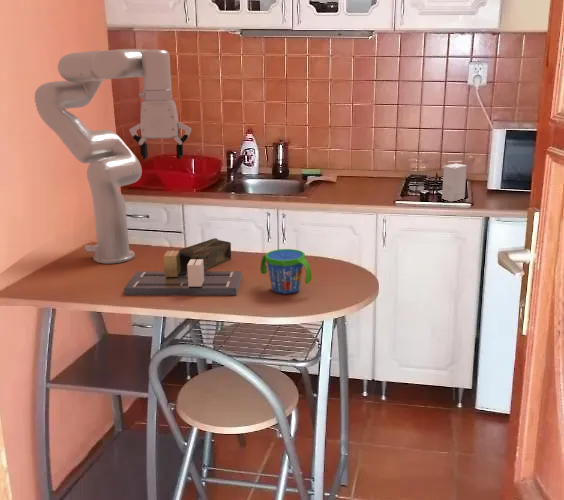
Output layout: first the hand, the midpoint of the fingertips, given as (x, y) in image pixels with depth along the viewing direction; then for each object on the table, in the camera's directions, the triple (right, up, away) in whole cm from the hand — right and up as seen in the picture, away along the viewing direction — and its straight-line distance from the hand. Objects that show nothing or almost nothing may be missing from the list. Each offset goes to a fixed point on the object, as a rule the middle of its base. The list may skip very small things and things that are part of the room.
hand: (162, 158), depth 193 cm
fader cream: (+11, -35, -9) cm, 37 cm away
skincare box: (+105, -5, +92) cm, 140 cm away
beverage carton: (+10, -31, +14) cm, 35 cm away
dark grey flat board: (+7, -36, -4) cm, 37 cm away
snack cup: (+35, -37, -8) cm, 51 cm away
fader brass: (+3, -33, -1) cm, 33 cm away
